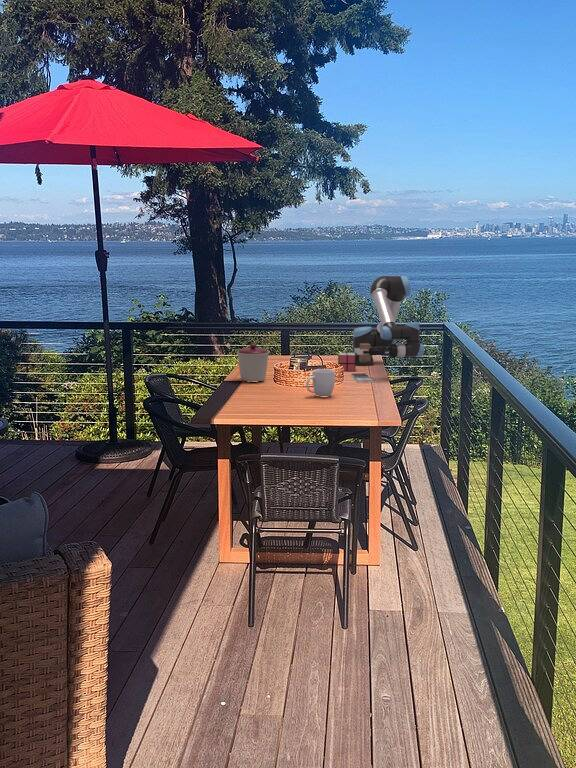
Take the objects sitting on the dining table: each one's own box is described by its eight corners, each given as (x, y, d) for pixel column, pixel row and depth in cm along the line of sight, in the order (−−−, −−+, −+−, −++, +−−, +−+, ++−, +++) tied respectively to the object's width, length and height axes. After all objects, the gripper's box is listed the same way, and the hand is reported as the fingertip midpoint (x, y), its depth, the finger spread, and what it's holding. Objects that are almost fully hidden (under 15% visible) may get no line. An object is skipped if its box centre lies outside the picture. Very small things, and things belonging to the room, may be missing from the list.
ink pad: (350, 375, 461) (350, 373, 461) (365, 375, 462) (365, 373, 462) (353, 378, 452) (353, 376, 452) (369, 378, 454) (369, 375, 453)
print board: (352, 378, 451) (352, 377, 451) (371, 378, 453) (371, 377, 453) (357, 382, 440) (357, 380, 440) (376, 381, 442) (376, 380, 442)
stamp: (359, 361, 447) (359, 343, 445) (368, 361, 447) (368, 343, 446) (361, 362, 442) (361, 344, 440) (370, 362, 442) (370, 344, 441)
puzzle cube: (355, 371, 475) (355, 355, 473) (338, 371, 475) (338, 355, 474) (354, 369, 485) (354, 352, 483) (337, 369, 485) (338, 352, 483)
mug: (311, 399, 392) (311, 373, 390) (301, 395, 402) (302, 370, 400) (338, 397, 398) (338, 371, 396) (328, 393, 408) (328, 368, 406)
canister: (268, 384, 432) (268, 345, 429) (235, 383, 433) (234, 345, 429) (270, 378, 450) (270, 341, 446) (238, 378, 451) (238, 341, 447)
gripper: (400, 359, 438) (359, 360, 435) (391, 355, 456) (351, 355, 452) (401, 346, 437) (359, 346, 433) (391, 342, 454) (352, 342, 451)
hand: (355, 351), depth 443 cm, fingers closed on stamp, 5 cm apart
